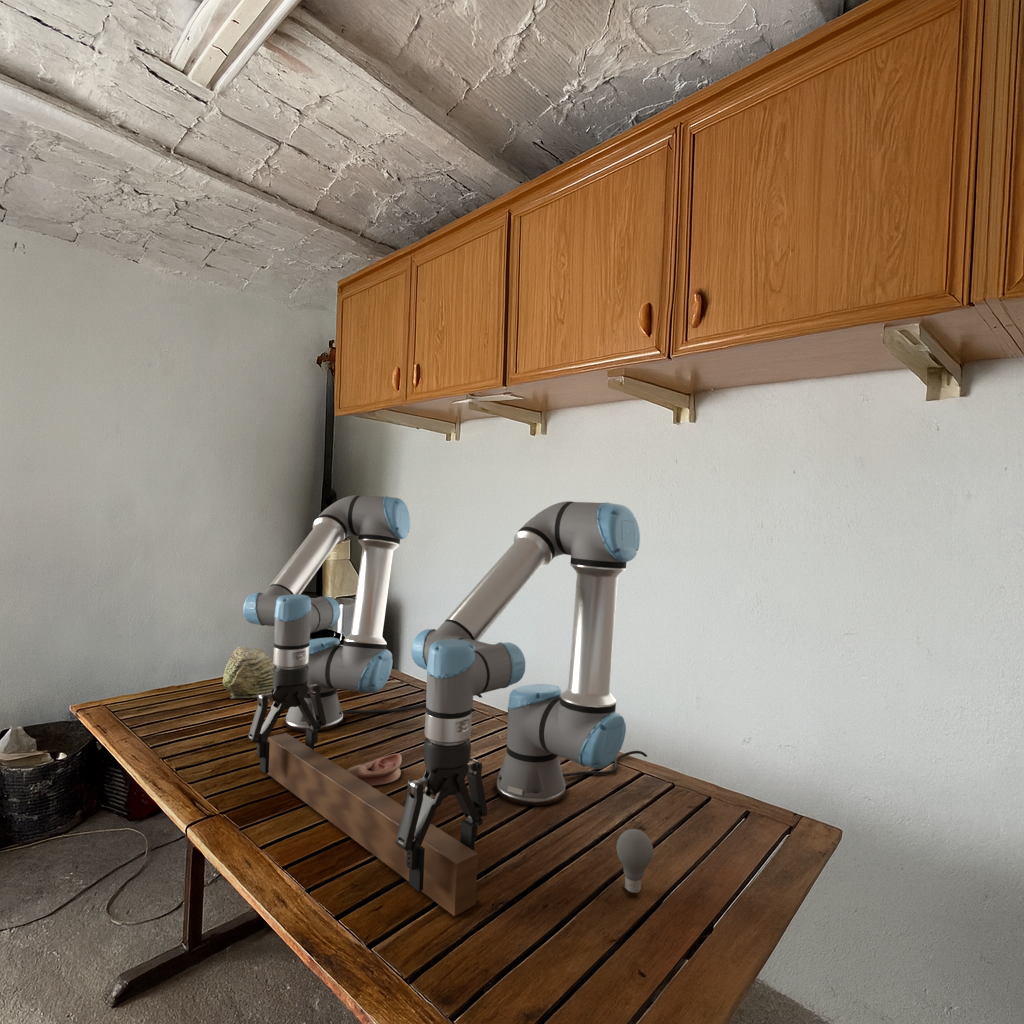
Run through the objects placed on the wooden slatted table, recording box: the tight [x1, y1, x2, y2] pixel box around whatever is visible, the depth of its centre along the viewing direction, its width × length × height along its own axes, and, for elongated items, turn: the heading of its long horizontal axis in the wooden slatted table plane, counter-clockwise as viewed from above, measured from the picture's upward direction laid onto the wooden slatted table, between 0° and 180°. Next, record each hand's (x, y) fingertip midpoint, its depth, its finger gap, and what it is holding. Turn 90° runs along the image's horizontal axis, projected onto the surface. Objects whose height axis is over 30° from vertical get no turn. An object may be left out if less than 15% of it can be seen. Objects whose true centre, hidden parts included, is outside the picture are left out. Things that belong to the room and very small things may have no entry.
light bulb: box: [615, 828, 654, 894], centre depth 106 cm, size 6×6×10 cm
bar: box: [266, 732, 479, 917], centre depth 122 cm, size 66×4×8 cm, turn 45°
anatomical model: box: [345, 753, 403, 787], centre depth 144 cm, size 13×4×12 cm
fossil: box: [222, 646, 275, 699], centre depth 198 cm, size 9×18×15 cm, turn 132°
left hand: (287, 764), depth 141 cm, fingers open, 10 cm apart
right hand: (442, 873), depth 103 cm, fingers open, 10 cm apart
